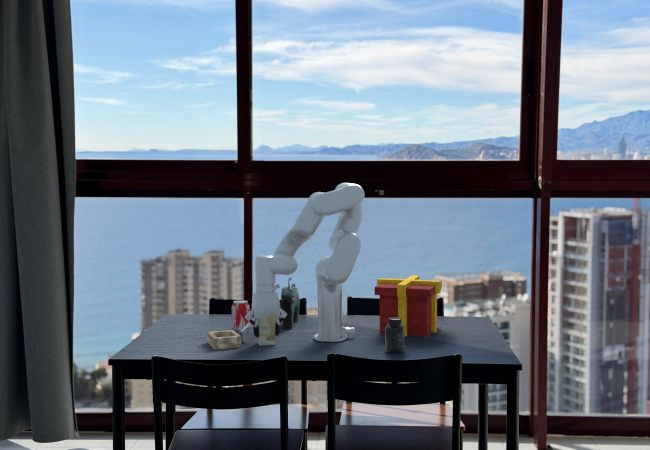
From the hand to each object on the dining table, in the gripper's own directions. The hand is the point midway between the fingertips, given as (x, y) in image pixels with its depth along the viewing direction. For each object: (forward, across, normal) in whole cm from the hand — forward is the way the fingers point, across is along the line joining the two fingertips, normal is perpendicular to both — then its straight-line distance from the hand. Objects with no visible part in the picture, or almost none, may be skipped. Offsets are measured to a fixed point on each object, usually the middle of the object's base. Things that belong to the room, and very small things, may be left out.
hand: (266, 335), depth 320 cm
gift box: (+4, -59, -1) cm, 59 cm away
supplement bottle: (+3, -39, +29) cm, 49 cm away
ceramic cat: (+4, -19, -30) cm, 36 cm away
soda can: (+3, +3, -26) cm, 26 cm away
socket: (+3, +15, -5) cm, 16 cm away
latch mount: (+3, +8, -8) cm, 12 cm away
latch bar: (-2, +3, -9) cm, 9 cm away
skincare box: (+3, 0, 0) cm, 3 cm away
